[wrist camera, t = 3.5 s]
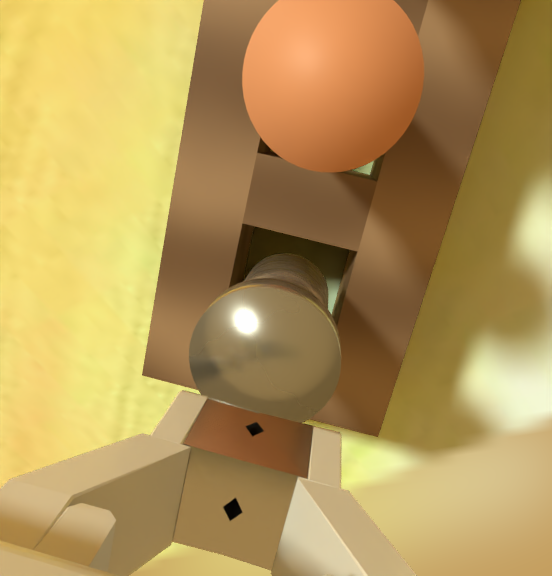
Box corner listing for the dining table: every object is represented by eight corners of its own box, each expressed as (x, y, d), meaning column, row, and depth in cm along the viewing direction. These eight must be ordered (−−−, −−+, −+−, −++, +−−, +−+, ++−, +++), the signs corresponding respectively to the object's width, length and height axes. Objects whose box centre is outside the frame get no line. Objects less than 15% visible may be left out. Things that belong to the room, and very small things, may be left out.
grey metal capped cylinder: (324, 355, 20) (319, 446, 14) (224, 330, 20) (177, 408, 14) (351, 257, 19) (359, 310, 13) (245, 230, 19) (203, 271, 13)
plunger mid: (374, 175, 18) (393, 190, 12) (262, 148, 18) (226, 150, 12) (408, 52, 17) (449, 0, 11) (288, 25, 17) (263, -41, 11)
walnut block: (371, 391, 25) (377, 436, 21) (171, 339, 25) (142, 375, 21) (561, -215, 18) (624, -314, 14) (281, -271, 18) (267, -383, 14)
